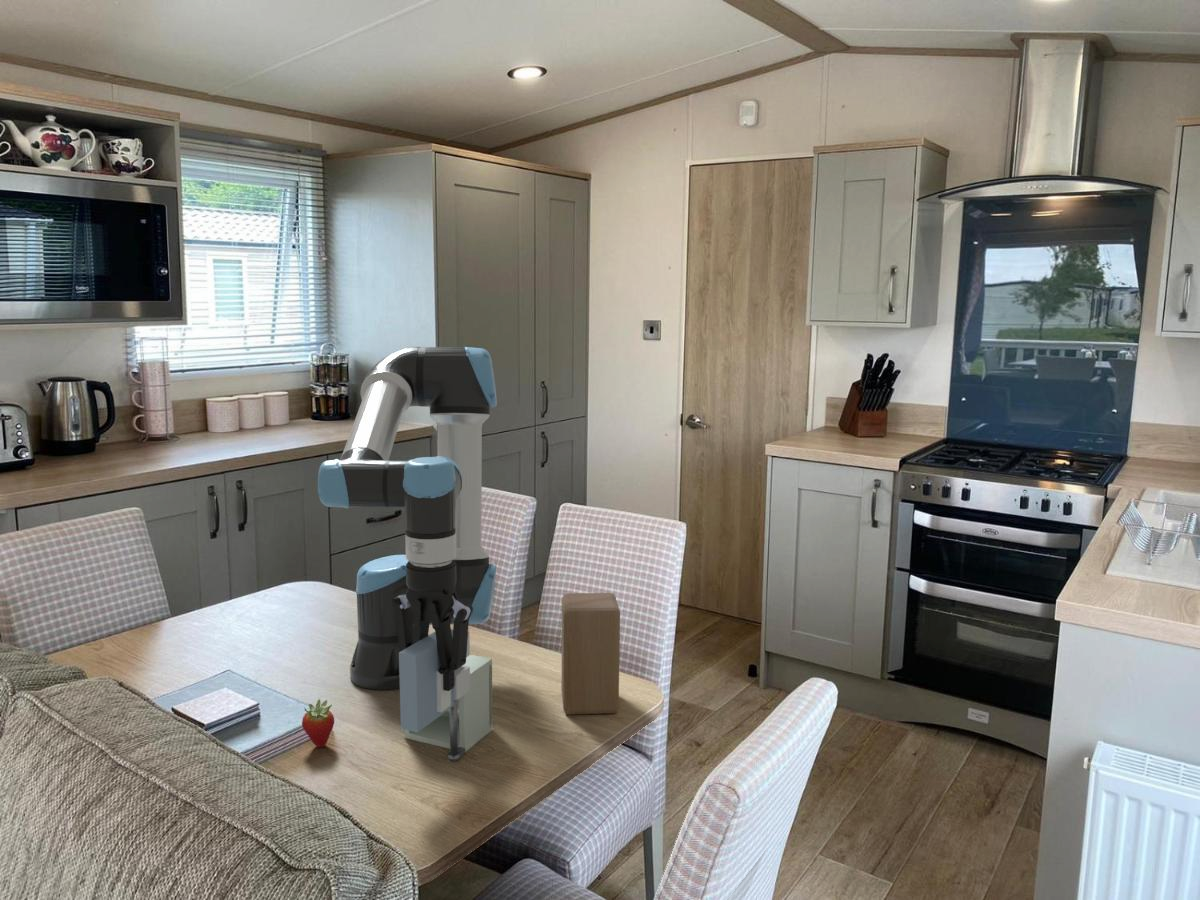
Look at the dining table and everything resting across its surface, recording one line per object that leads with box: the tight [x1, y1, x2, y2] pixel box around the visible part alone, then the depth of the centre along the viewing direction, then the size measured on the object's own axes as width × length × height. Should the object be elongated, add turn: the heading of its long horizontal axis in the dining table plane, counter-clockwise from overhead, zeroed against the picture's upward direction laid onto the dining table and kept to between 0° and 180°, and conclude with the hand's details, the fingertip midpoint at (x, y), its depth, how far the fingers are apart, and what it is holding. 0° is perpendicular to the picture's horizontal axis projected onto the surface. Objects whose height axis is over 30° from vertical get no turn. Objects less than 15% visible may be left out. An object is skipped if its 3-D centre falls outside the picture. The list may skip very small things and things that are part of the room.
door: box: [399, 627, 471, 732], centre depth 145 cm, size 4×14×12 cm, turn 156°
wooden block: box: [561, 592, 621, 715], centre depth 171 cm, size 10×10×20 cm
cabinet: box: [403, 654, 493, 753], centre depth 160 cm, size 12×9×13 cm
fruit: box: [301, 698, 335, 748], centre depth 155 cm, size 5×5×8 cm
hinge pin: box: [447, 700, 466, 763], centre depth 152 cm, size 2×4×12 cm, turn 156°
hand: (433, 705), depth 145 cm, fingers closed on door, 3 cm apart
